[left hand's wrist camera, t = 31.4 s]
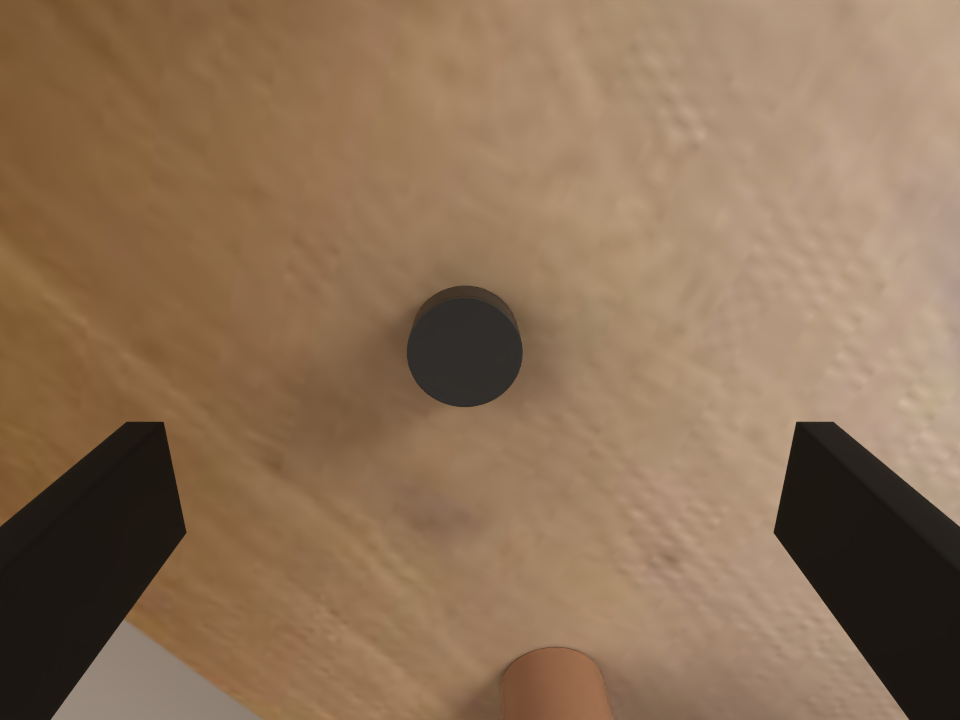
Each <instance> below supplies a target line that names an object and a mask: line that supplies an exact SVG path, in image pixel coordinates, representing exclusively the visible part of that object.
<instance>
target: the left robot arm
mask: <svg viewBox="0 0 960 720" xmlns="http://www.w3.org/2000/svg"><path fill="white" fill-rule="evenodd" d="M185 534H186V528H185V524H184V519H183V514H182V509H181V504H180V499H179V494H178V490H177V485H176V480H175V475H174V470H173V465H172V460H171V456H170V451H169V446H168V441H167V436H166V431H165V426H164V422H126V423H125V424H123V425H122V426H121V427H120V428H119V429H117V430H116V431H115V432H114V433H113V434H111V435H110V436H109V437H108V438H107V439H105V440H104V441H103V442H102V443H101V444H99V445H98V446H97V447H96V448H95V449H93V450H92V451H91V452H90V453H89V454H87V455H86V456H85V457H84V458H83V459H81V460H80V461H79V462H78V463H77V464H75V465H74V466H73V467H72V468H71V469H69V470H68V471H67V472H66V473H64V474H63V475H62V476H61V477H60V478H58V479H57V480H56V481H55V482H54V483H52V484H51V485H50V486H49V487H48V488H46V489H45V490H44V491H43V492H42V493H40V494H39V495H38V496H37V497H36V498H34V499H33V500H32V501H31V502H30V503H28V504H27V505H26V506H25V507H24V508H22V509H21V510H20V511H19V512H18V513H16V514H15V515H14V516H13V517H12V518H10V519H9V520H8V521H7V522H5V523H4V524H3V525H2V526H1V527H0V720H51V718H52V717H53V716H54V714H55V713H56V712H57V710H58V709H59V707H60V706H61V705H62V703H63V702H64V700H65V699H66V698H67V696H68V695H69V694H70V692H71V691H72V690H73V688H74V687H75V685H76V684H77V683H78V681H79V680H80V678H81V677H82V676H83V674H84V673H85V672H86V670H87V669H88V667H89V666H90V665H91V663H92V662H93V661H94V659H95V658H96V656H97V655H98V654H99V652H100V651H101V650H102V648H103V647H104V645H105V644H106V643H107V641H108V640H109V639H110V637H111V636H112V634H113V633H114V632H115V630H116V629H117V628H118V626H119V625H120V623H121V622H122V621H123V619H124V618H125V617H126V615H127V614H128V612H129V611H130V610H131V608H132V607H133V606H134V604H135V603H136V601H137V600H138V599H139V597H140V596H141V595H142V593H143V592H144V590H145V589H146V588H147V586H148V585H149V584H150V582H151V581H152V579H153V578H154V577H155V575H156V574H157V572H158V571H159V570H160V568H161V567H162V566H163V564H164V563H165V561H166V560H167V559H168V557H169V556H170V555H171V553H172V552H173V550H174V549H175V548H176V546H177V545H178V544H179V542H180V541H181V539H182V538H183V537H184V535H185ZM774 534H775V535H776V537H777V538H778V539H779V541H780V542H781V544H782V545H783V546H784V548H785V549H786V550H787V552H788V553H789V555H790V556H791V557H792V559H793V560H794V561H795V563H796V564H797V566H798V567H799V568H800V570H801V571H802V572H803V574H804V575H805V577H806V578H807V579H808V581H809V582H810V584H811V585H812V586H813V588H814V589H815V590H816V592H817V593H818V595H819V596H820V597H821V599H822V600H823V601H824V603H825V604H826V606H827V607H828V608H829V610H830V611H831V612H832V614H833V615H834V617H835V618H836V619H837V621H838V622H839V623H840V625H841V626H842V628H843V629H844V630H845V632H846V633H847V634H848V636H849V637H850V639H851V640H852V641H853V643H854V644H855V645H856V647H857V648H858V650H859V651H860V652H861V654H862V655H863V656H864V658H865V659H866V661H867V662H868V663H869V665H870V666H871V667H872V669H873V670H874V672H875V673H876V674H877V676H878V677H879V679H880V680H881V681H882V683H883V684H884V685H885V687H886V688H887V690H888V691H889V692H890V694H891V695H892V696H893V698H894V699H895V701H896V702H897V703H898V705H899V706H900V707H901V709H902V710H903V712H904V713H905V714H906V716H907V717H908V718H909V720H960V527H959V526H958V525H957V524H956V523H955V522H953V521H952V520H951V519H950V518H948V517H947V516H946V515H945V514H944V513H942V512H941V511H940V510H939V509H938V508H936V507H935V506H934V505H933V504H932V503H930V502H929V501H928V500H927V499H926V498H924V497H923V496H922V495H921V494H920V493H918V492H917V491H916V490H915V489H914V488H912V487H911V486H910V485H909V484H908V483H906V482H905V481H904V480H903V479H902V478H900V477H899V476H898V475H897V474H896V473H894V472H893V471H892V470H891V469H889V468H888V467H887V466H886V465H885V464H883V463H882V462H881V461H880V460H879V459H877V458H876V457H875V456H874V455H873V454H871V453H870V452H869V451H868V450H867V449H865V448H864V447H863V446H862V445H861V444H859V443H858V442H857V441H856V440H855V439H853V438H852V437H851V436H850V435H849V434H847V433H846V432H845V431H844V430H843V429H841V428H840V427H839V426H838V425H837V424H835V423H834V422H796V426H795V431H794V436H793V441H792V446H791V451H790V456H789V460H788V465H787V470H786V475H785V480H784V485H783V490H782V494H781V499H780V504H779V509H778V514H777V519H776V524H775V528H774Z"/></svg>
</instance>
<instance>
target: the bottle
mask: <svg viewBox="0 0 960 720" xmlns="http://www.w3.org/2000/svg"><path fill="white" fill-rule="evenodd" d="M500 697H501V715H502V720H614V717H613V713H612V709H611V705H610V701H609V697H608V693H607V689H606V685H605V681H604V678H603V675H602V672H601V670H600V668H599V667H598V666H597V664H596V663H595V662H594V661H593V660H592V659H590V658H589V657H588V656H586V655H584V654H582V653H580V652H578V651H575V650H572V649H568V648H559V647H551V648H543V649H538V650H534V651H532V652H529V653H527V654H525V655H523V656H521V657H520V658H518V659H517V660H516V661H514V662H513V663H512V664H511V665H510V666H509V668H508V669H507V670H506V672H505V674H504V676H503V678H502V681H501V685H500Z"/></svg>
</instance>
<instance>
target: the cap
mask: <svg viewBox="0 0 960 720" xmlns="http://www.w3.org/2000/svg"><path fill="white" fill-rule="evenodd" d="M522 352H523V351H522V343H521V338H520V334H519V330H518V327H517V323H516V320H515V318H514V315H513V314H512V312H511V310H510V309H509V307H508V306H507V305H506V304H505V303H504V302H503V301H502V300H501V299H500V298H499V297H498V296H496V295H495V294H493V293H491V292H489V291H487V290H485V289H482V288H478V287H473V286H457V287H452V288H448V289H445V290H443V291H441V292H439V293H437V294H435V295H434V296H432V297H431V298H430V299H429V300H428V301H427V302H426V303H425V304H424V305H423V306H422V307H421V309H420V310H419V312H418V314H417V315H416V318H415V320H414V323H413V327H412V330H411V333H410V336H409V340H408V346H407V359H408V365H409V368H410V371H411V373H412V375H413V377H414V379H415V381H416V382H417V384H418V385H419V386H420V387H421V388H422V389H423V390H424V391H425V392H426V393H427V394H428V395H430V396H431V397H432V398H434V399H436V400H438V401H440V402H442V403H445V404H448V405H452V406H458V407H471V406H478V405H482V404H485V403H488V402H490V401H492V400H494V399H496V398H497V397H499V396H500V395H502V394H503V393H504V392H505V391H506V390H507V389H508V388H509V387H510V386H511V385H512V383H513V382H514V380H515V379H516V377H517V375H518V373H519V370H520V367H521V362H522Z"/></svg>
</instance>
